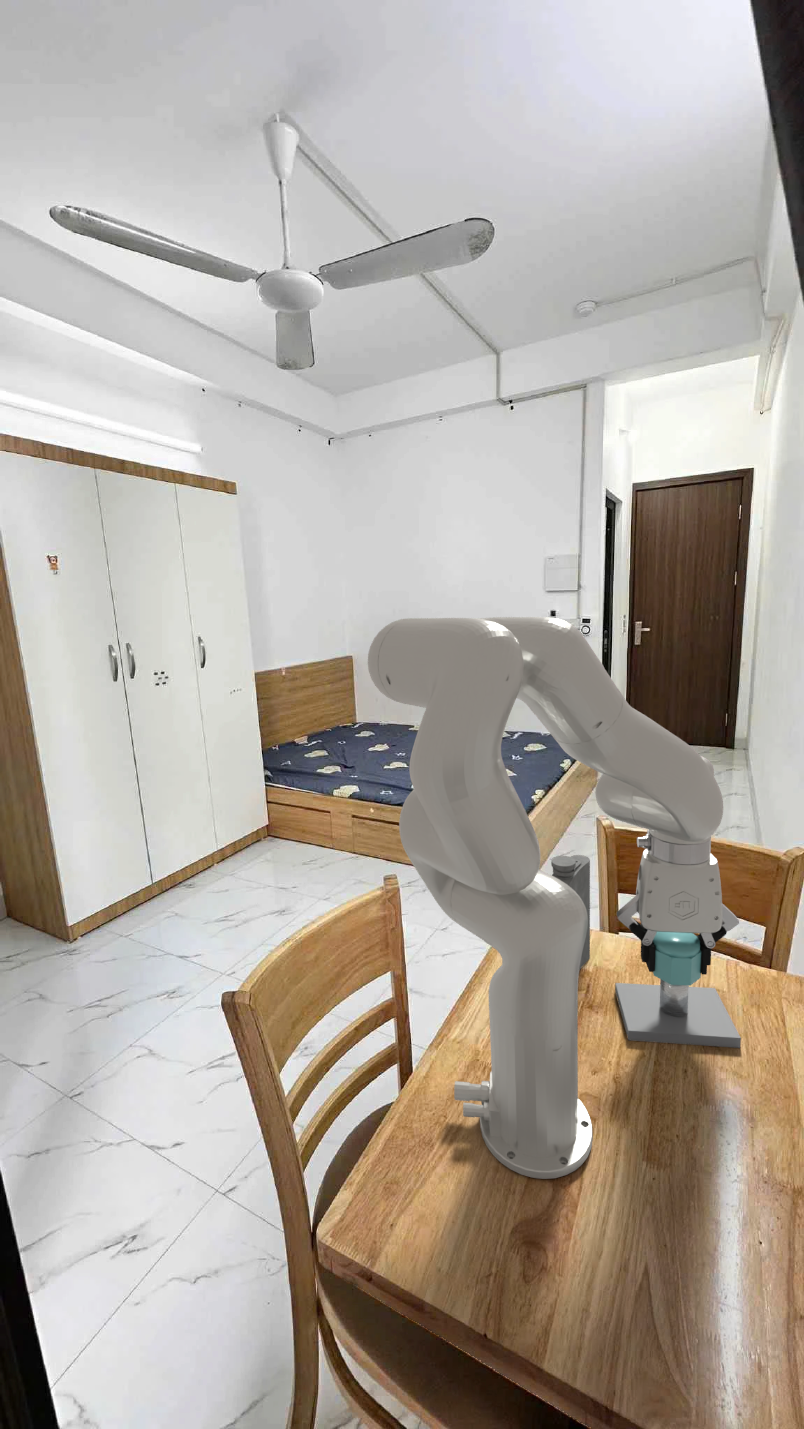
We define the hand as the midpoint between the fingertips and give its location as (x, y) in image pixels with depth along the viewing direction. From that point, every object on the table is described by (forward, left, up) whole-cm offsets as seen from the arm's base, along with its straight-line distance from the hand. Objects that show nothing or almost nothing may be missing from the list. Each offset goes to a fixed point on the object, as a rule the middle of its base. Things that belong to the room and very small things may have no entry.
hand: (674, 965), depth 82 cm
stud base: (0, 0, -8) cm, 8 cm away
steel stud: (0, 0, -7) cm, 7 cm away
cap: (0, 0, -1) cm, 1 cm away
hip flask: (-14, +8, -8) cm, 18 cm away
